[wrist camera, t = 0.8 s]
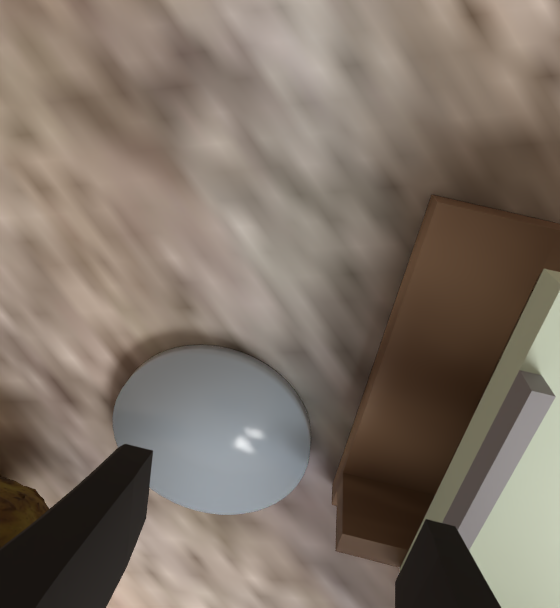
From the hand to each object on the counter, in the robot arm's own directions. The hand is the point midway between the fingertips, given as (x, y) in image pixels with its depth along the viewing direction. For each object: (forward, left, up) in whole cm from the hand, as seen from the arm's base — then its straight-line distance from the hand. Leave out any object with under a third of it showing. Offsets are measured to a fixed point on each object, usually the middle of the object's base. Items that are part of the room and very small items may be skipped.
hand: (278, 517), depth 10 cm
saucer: (-7, +3, -10) cm, 12 cm away
